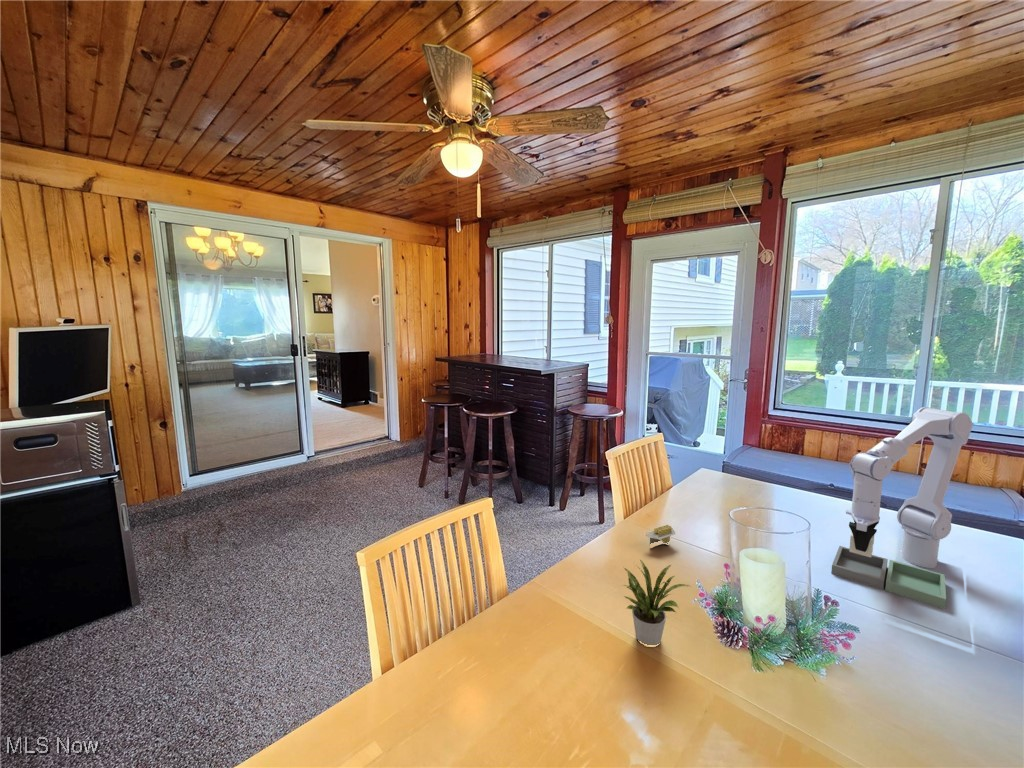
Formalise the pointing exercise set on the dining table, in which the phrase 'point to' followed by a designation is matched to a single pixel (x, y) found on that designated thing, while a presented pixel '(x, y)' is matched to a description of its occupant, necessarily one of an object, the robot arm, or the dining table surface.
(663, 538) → the platform
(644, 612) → the house plant
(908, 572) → the tray
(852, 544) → the stone block
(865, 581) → the tray
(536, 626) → the dining table surface
